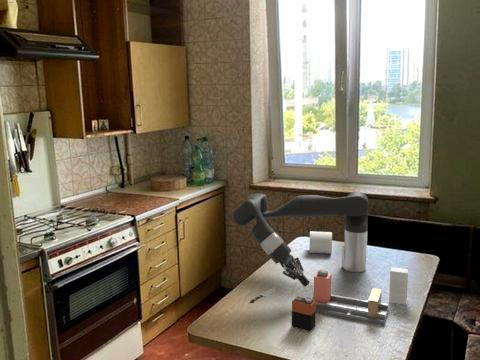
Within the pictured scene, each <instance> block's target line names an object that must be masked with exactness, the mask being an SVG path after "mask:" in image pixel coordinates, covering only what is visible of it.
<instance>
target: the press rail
mask: <svg viewBox="0 0 480 360" xmlns="http://www.w3.org/2000/svg"><path fill="white" fill-rule="evenodd" d="M382 291H383V290H382V289H380V288H372V289H371V291H370V292H371V293H370V294H369V297H368V300H366V299H362V298H361V299H360V298H355V297H348V296H344V295H343V296H342V295H337V294H332V293H331V300H330V302H329V303H326V302H320V301H316V314H321V315H325V316H330V317H331V316H332V317H336V318H341V319H346V320H351V321H357V322H363V323H367V324H372V325H378V326H385V324H386V320H387V317H388V313H389V309H390V308H389V303H384V302H382ZM313 293H314V291H313ZM313 293H312V294H313ZM311 299H312V300H313V297H311Z"/></svg>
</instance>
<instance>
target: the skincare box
mask: <svg viewBox="0 0 480 360" xmlns="http://www.w3.org/2000/svg"><path fill="white" fill-rule="evenodd" d="M408 280H409V269H408V268H399V267H392V266H391V267H390V272H389V294H388V302H389V303H391V304H399V305H407V302H408V301H407V299H408V284H409V283H408V282H409V281H408Z"/></svg>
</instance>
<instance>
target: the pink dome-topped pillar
mask: <svg viewBox="0 0 480 360" xmlns="http://www.w3.org/2000/svg"><path fill="white" fill-rule="evenodd" d="M313 292H314V293H312V298H313V300H315V301H320V302H326V303H329V302H330V300H331V294H332V273H331V272H329V271H328V270H326V269H319V270H317V272H316V273H315V274H314V276H313Z"/></svg>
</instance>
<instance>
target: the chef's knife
mask: <svg viewBox="0 0 480 360" xmlns="http://www.w3.org/2000/svg"><path fill="white" fill-rule="evenodd" d="M276 289H277V288H276V286H273V287H271V288H269V289H268V290H265V292H262V293H261V294H259V295H258V296H256V297H255V298H253V299H251V300H250V301H249V303H251V304H252V303H255V301H257V300H258V299H259V300H260V298H262V297H264V298H268V297H269V296H271V295H272V294H273V293H274V292H275V291H276Z"/></svg>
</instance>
